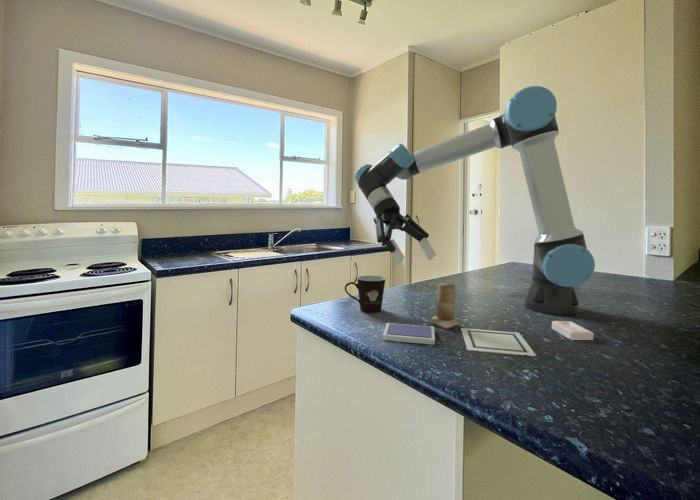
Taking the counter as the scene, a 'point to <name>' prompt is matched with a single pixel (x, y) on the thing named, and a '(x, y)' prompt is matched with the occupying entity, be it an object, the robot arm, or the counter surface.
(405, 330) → the ink pad
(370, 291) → the coffee mug
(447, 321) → the stamp
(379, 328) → the counter surface
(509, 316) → the counter surface
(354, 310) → the counter surface
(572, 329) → the soap bar
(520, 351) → the sheet
